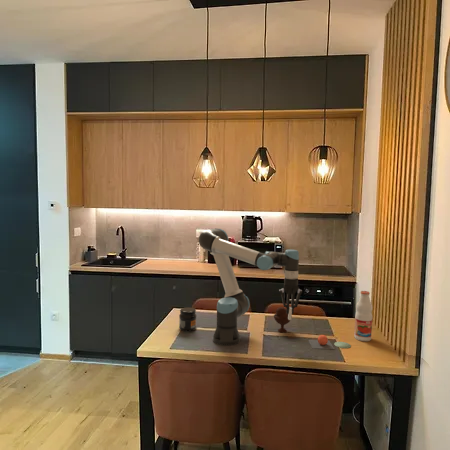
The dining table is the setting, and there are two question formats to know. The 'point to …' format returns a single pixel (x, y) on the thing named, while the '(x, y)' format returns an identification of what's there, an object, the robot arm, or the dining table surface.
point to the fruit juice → (363, 318)
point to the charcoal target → (317, 346)
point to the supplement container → (187, 319)
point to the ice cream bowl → (281, 318)
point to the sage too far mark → (342, 344)
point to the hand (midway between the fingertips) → (289, 319)
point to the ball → (322, 340)
